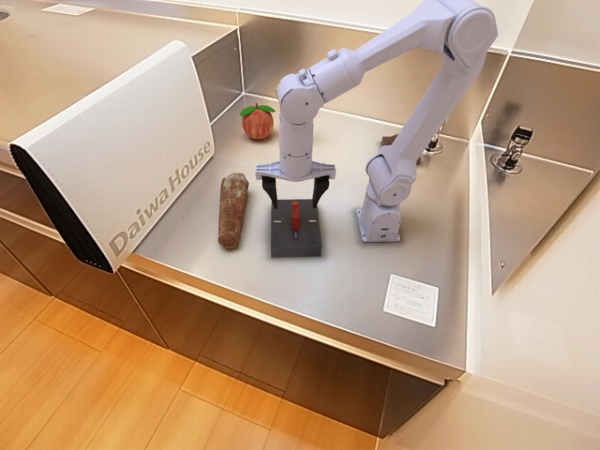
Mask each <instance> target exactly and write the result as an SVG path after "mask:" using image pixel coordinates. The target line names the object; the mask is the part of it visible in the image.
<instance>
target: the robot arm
mask: <svg viewBox="0 0 600 450" xmlns="http://www.w3.org/2000/svg"><path fill="white" fill-rule="evenodd" d="M498 31H499V30H498V26H497V20H496V16H495V13H494V11H492V9H491V8H489V7H488V6H485V5H482V4H480V3H479V2H477V1H476V0H422V2H420V4H419V5H418V6H416V8H415V9H414V10H413V11H411V12H410V13H409V14H407V15H406V16H404V17H403V18H401V19H399V21H397V22H395V23H394V24H392V25H391V26H390V27H388V28H386V29H385V30H384V31H382V32H380V33H379V34H377V35H376V36H374V37H373V38H371V39H370V40H368V41H367V42H366V43H364V44H362V45H361V46H359V47H358V48H356V49H354V50H353V49H349V48H345V47H342V48H340V49H338V50H336V48H333V49H331V50H329V51H327V53H326V55H327V56H326V57H325V58H323V59H322V60H320V61H318V62H317V63H315V64H313V65H311V66H310V67H308V68H306V69H305V68H304V67H303V68H302V69H300V70H299V71H298V72H297V73H290V74H287V75H285V76H283V77H282V78H281V80H280V81H279V83H278V84H277V87H276V89H275V94H276V98H277V100H278V104H279V114H278V119H279V122H278V141H279V142H278V145H279V147H278V148H279V160H277V161H274V162H270V163H264V164H255V169H254V171H255V172H254V173H255V180H256V181H261V187H262V189H263V190H262V191H264V192H265V193H266V194H267V195H268V197H269V199H270V201H272V203H273V206H274V209H277V207H278V201H277V200H278V191H277V179H279V180H283V181H287V182H292V183H299V182H304V181H308V180H312V179H313V190H312V198H311V199H312V203H313V208H318V205H319V202H320V200H321V198H322V196H323V195H324V194H326V192H327V191H328V190H329V188H330V180H336V175H337V174H336V173H337V168H336V164H332V163H331V164H330V163H322V162H319V161H313V148H314V147H313V143H314V129H315V127H314V119H315V118H316V117H317V115H318V113H319V111H320V110H321V108H322V107H324V106H325V104H327V103H329V102H331V101H332V100H335V99H337V98H339V97H340V96H342V95H344V94H345V93H347V92H349V91H351V90H353V89H355V88H356V87H358V86H360V84H361V82H362V80H363V78H364V76H365V74H366V72H369V71H371V70H373V69H375V68H378V67H379V66H381V65H383V64H385V63H387V62H389V61H391V60H393V59H395V58H398V57H400V56H401V55H404V54H406V53H408V52H410V51H412V50H414V49H416V48H418V49H424V50H428V51H433V52H437V53H439V56H440V61H441V67H440V69H439V70H438V72H437V73H436V74H435V76H434V78H433V79H432V81H431V83H430V84H429V86H428V87H427V89H426V90H425V92H424V93H423V95H422V96H421V97H420V99H419V101H418V103H417V105H416V106H415V107H414V109H413V111H412V112H411V114H410V115H409V117H408V118H407V120H406V121H405V123H404V124H403V126H402V128H401V129H400V131H399V132H398V133H397V134H398V136H397V137H396V139H395V140H394V142H393V143H392V145H387V146H382V145H381V147H380V149H379V150H378V152H377V153H376V154H375V155H373V156H372V157H370V158H369V159H368V160H367V162H366V165H365V173H366V175H367V176H368V183H367V185H366V189H365V193H364V199H363V203H362V204H363V205H362V208H361V209H360V208H357V209H356V211H355V213H356V218H357V222H358V227H359V232H360V236H361V241H362V242H364V243H374V242H375V243H378V242H379V243H380V242H383V243H384V242H386V243H387V242H400V241H401V237H400V234H399V230H400V227H401V225H402V216H401V212H400V205H401V203H403V202H405V200H407V199H408V197H409V196H410V194H411V190H412V186H413V184H414V183H415V181H416V180H417V165H416V162H417V160H418V158H419V157H421V156H422V154H423V153H424V152H425V150H426V149H427V147H428V146H429V145H430V143H431V141H432V140H433V139H434V138H435V136H436V135H437V133H438V132H439V130H440V129H441V128H442V126H443V125H444V123H445V122H446V121H447V120H448V118H449V117H450V115H451V114H452V112H453V111H454V110H455V109H456V107H457V105H458V104H459V103H460V101H461V100H462V99H463V97H464V96H465V94H466V93H467V92H468V90H469V89H470V88H471V86H472V85H473V83H474V82H475V80H476V79H477V78H478V76H479V75H480V73H481V71H482V70H483V68H484V64H485V61H486V57H487V53H488V51H489V49H490V48H491V47H492V45H493V44H494V43H495V41H496V39H497V38H498V36H499V32H498Z"/></svg>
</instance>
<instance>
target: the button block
mask: <svg viewBox="0 0 600 450" xmlns="http://www.w3.org/2000/svg"><path fill="white" fill-rule="evenodd" d="M397 134H398V133H396V134H393V135H390V136H385V135H383V136H381V143H380V144H381V147H382V146H387V145H392V143H393V142H394V140H395V139H396V136H397ZM421 159H422V157H421V156H420V157H419V158H418V160H417V162H416V166H417V165H420V162H421Z"/></svg>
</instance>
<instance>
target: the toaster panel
mask: <svg viewBox="0 0 600 450" xmlns="http://www.w3.org/2000/svg"><path fill="white" fill-rule="evenodd" d="M270 201H271V200H270ZM277 201H278V207H277V209H274V206H273V203H272V201H271V203H270V204H271V206H270V208H271V209H270V258H304V257H305V258H308V257H309V258H311V257H312V258H313V257H314V258H315V257H322V248H323V247H322V238H321V237H322V236H321V229H320V220H319V208H318V207H317V208H313V203H312V198H296V199H295V198H291V199H282V198H281V199H280V198H279V199H277ZM291 202H298V206H299V229H292V215H291Z"/></svg>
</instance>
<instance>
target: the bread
mask: <svg viewBox="0 0 600 450" xmlns="http://www.w3.org/2000/svg"><path fill="white" fill-rule="evenodd" d="M245 175H246V174H244V173H243V172H233V173H231V174H228V176H227V177H223V178H222V179H221V183H220V188H219V189H220V190H219V205H218V207H219V208H218V225H217V226H218V227H217V230H218V231H217V233H218V234H217V242H218V244H219V245H220V246H221V247H222V248H224V249H232V248H235V247H236V246H237V245H239V239H240V232H241V228H242V223H243V218H244V212H245V208H246V207H245V205H246V201H247V197H248V192H249V186H250V183H249V181H248V179H247V178H246V176H245Z"/></svg>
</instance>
